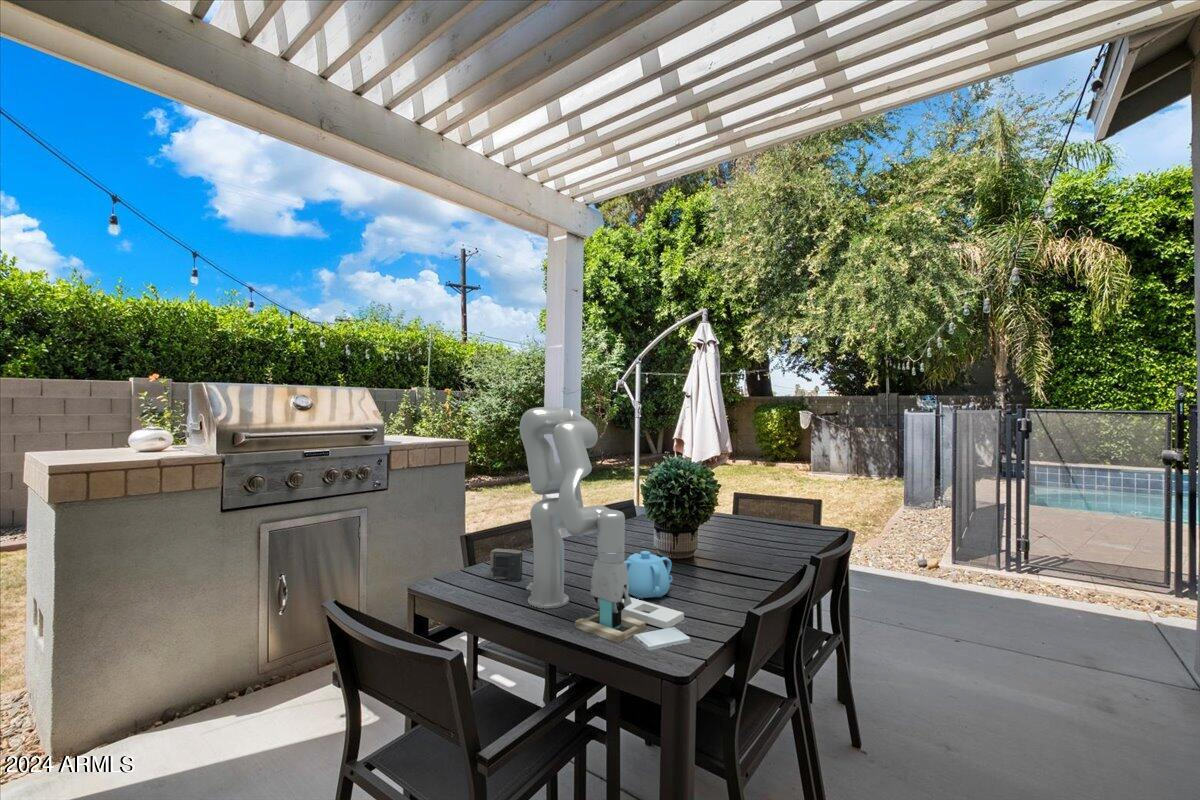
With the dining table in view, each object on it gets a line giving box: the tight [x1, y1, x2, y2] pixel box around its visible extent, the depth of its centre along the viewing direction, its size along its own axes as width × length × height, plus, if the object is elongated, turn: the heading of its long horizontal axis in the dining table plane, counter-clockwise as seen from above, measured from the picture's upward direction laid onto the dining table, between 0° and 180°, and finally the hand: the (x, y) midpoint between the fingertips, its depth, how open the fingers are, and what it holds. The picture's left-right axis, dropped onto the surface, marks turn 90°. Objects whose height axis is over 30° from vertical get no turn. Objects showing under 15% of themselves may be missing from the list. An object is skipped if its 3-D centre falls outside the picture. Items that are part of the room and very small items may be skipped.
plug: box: [599, 599, 621, 630], centre depth 151 cm, size 4×4×8 cm
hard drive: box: [632, 626, 691, 651], centre depth 143 cm, size 2×8×12 cm
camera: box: [488, 548, 523, 582], centre depth 192 cm, size 11×6×10 cm, turn 74°
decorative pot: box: [624, 550, 674, 600], centre depth 178 cm, size 16×16×14 cm
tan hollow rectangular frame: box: [574, 610, 647, 644], centre depth 150 cm, size 15×12×2 cm
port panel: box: [621, 596, 685, 629], centre depth 160 cm, size 20×9×2 cm, turn 50°
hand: (609, 622), depth 151 cm, fingers closed on plug, 3 cm apart
